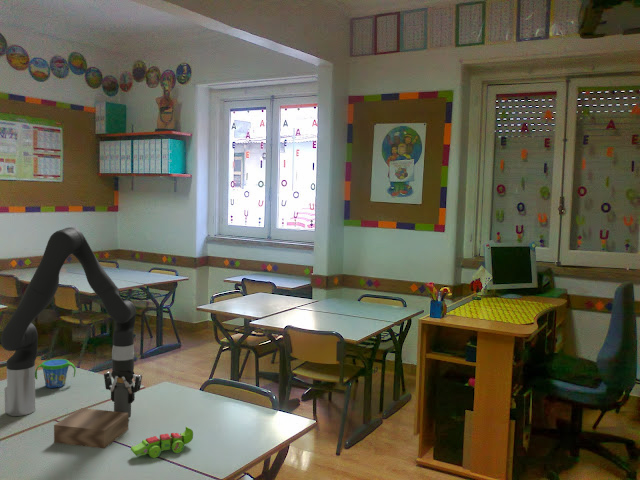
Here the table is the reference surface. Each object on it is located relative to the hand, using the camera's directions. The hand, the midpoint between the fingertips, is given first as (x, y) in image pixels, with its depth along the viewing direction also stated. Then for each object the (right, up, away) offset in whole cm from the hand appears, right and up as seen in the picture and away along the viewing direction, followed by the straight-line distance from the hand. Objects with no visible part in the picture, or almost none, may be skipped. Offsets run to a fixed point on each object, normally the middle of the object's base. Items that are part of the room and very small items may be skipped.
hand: (122, 401), depth 200 cm
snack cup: (-41, -3, +34) cm, 53 cm away
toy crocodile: (+21, -10, -23) cm, 33 cm away
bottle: (0, -6, +1) cm, 6 cm away
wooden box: (-6, -8, -13) cm, 16 cm away
